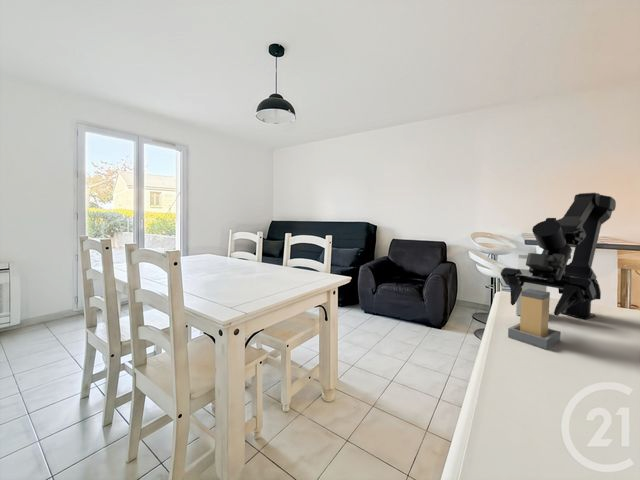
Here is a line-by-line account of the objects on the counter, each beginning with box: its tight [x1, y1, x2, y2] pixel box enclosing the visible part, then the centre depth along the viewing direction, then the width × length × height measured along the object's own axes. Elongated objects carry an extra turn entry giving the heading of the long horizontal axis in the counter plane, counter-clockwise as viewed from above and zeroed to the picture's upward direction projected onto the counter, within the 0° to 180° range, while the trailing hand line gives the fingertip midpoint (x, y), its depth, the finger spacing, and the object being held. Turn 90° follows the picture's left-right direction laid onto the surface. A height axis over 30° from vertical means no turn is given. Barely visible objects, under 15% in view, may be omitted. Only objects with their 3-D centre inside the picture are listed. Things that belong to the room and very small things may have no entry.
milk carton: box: [515, 254, 547, 317], centre depth 86 cm, size 7×7×19 cm
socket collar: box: [507, 322, 561, 350], centre depth 70 cm, size 8×8×2 cm
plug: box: [519, 289, 551, 338], centre depth 70 cm, size 4×4×12 cm
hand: (532, 309), depth 69 cm, fingers open, 9 cm apart
